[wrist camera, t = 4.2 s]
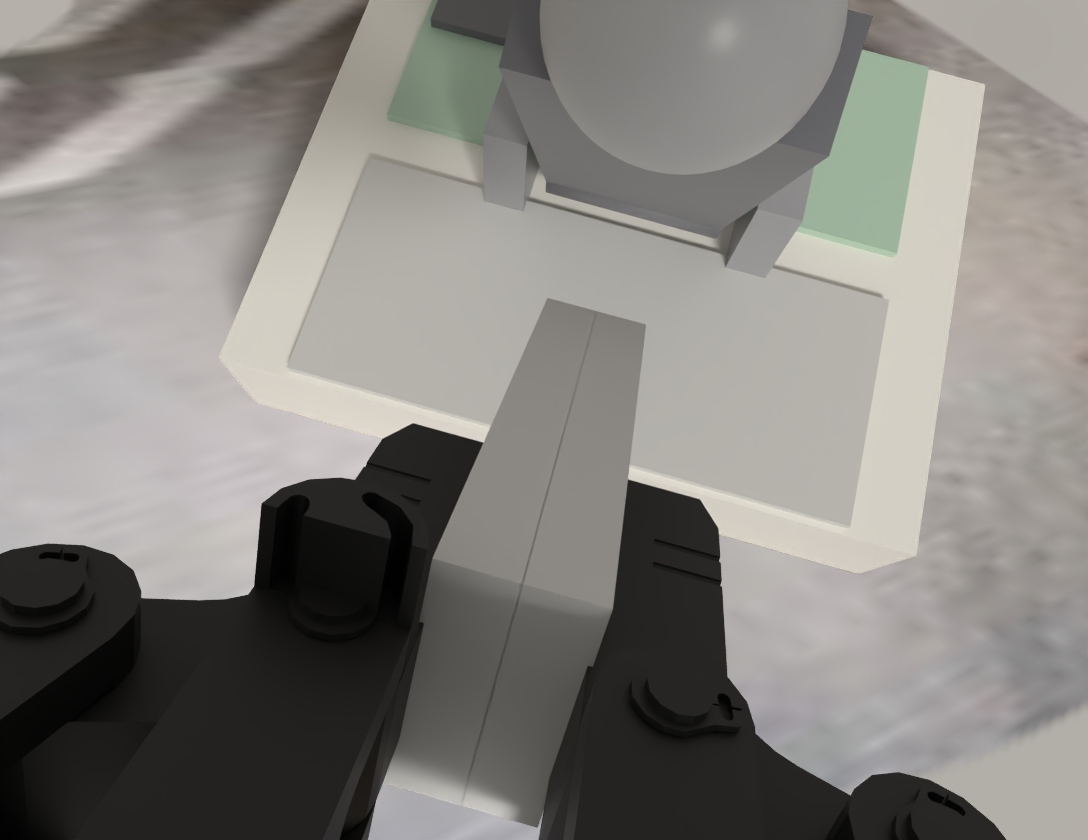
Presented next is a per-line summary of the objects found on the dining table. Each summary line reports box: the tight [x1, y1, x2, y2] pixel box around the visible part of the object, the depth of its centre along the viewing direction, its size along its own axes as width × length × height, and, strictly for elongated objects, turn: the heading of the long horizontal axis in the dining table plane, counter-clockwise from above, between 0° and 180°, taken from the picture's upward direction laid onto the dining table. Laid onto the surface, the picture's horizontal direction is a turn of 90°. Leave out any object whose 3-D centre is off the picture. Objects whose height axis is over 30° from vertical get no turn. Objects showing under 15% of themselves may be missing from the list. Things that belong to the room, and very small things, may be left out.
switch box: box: [219, 0, 985, 574], centre depth 27 cm, size 16×20×8 cm
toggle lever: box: [499, 0, 873, 239], centre depth 18 cm, size 4×5×16 cm
